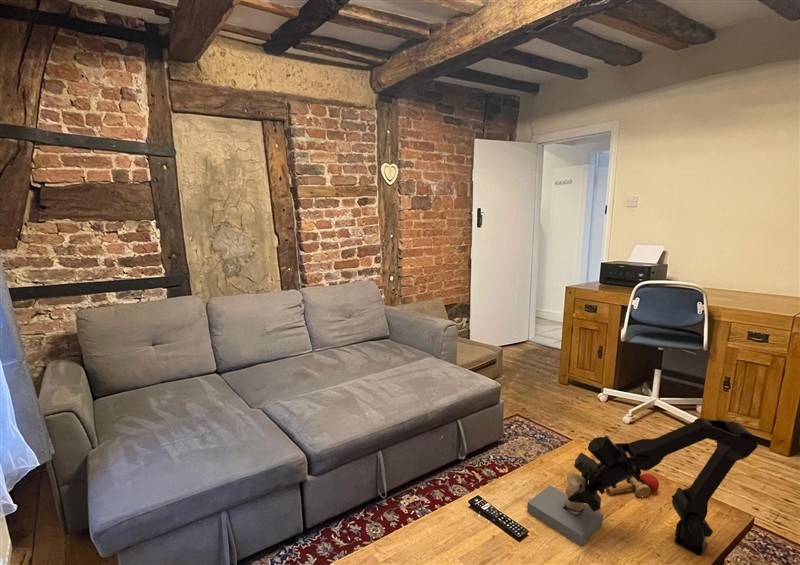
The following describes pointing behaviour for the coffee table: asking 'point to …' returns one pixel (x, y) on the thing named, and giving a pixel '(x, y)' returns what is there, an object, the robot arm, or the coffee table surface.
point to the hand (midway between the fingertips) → (570, 494)
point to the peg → (572, 487)
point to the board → (564, 515)
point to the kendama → (637, 485)
